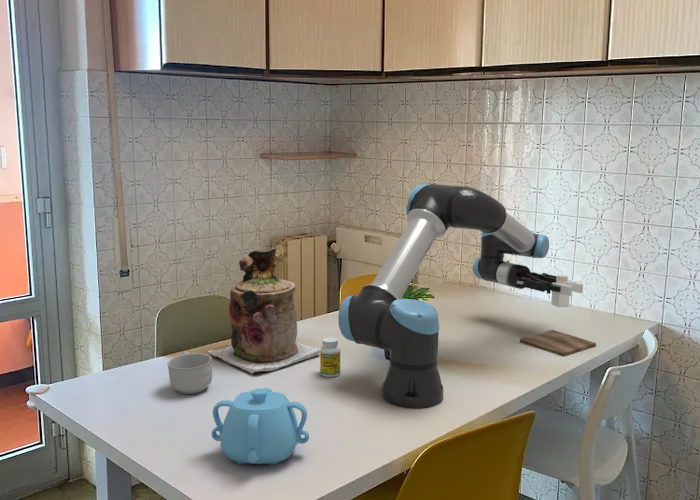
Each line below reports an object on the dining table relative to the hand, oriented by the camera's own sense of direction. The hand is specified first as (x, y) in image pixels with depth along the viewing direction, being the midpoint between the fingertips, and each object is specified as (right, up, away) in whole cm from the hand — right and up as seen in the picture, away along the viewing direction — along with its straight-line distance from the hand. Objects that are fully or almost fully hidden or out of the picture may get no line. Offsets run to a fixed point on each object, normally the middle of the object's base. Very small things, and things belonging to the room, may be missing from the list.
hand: (576, 290), depth 201 cm
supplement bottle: (-72, -22, -18) cm, 78 cm away
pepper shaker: (-3, -5, +5) cm, 8 cm away
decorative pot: (-85, -30, -62) cm, 110 cm away
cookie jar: (-92, -19, -5) cm, 94 cm away
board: (-3, -17, +8) cm, 19 cm away
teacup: (-107, -23, -28) cm, 113 cm away
